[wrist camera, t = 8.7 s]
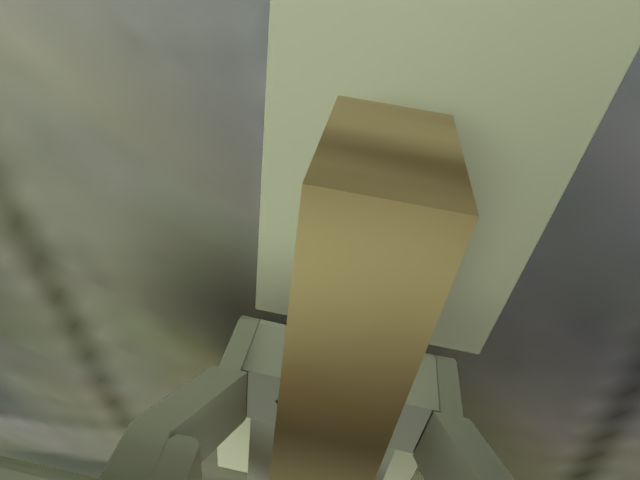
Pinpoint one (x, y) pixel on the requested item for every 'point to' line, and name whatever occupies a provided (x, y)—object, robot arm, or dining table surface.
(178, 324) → the dining table surface
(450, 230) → the wooden handled scraper
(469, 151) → the tool rest
